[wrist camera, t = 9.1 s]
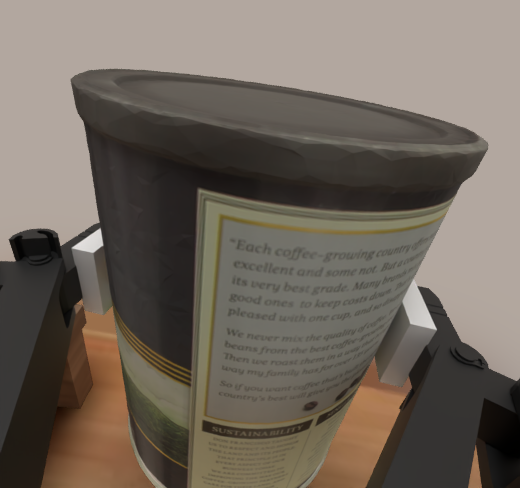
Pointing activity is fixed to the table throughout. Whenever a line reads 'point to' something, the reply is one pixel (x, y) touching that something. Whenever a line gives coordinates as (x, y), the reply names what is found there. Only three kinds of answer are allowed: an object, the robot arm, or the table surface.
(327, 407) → the coffee can
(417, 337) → the robot arm
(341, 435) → the table surface
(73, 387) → the stool
